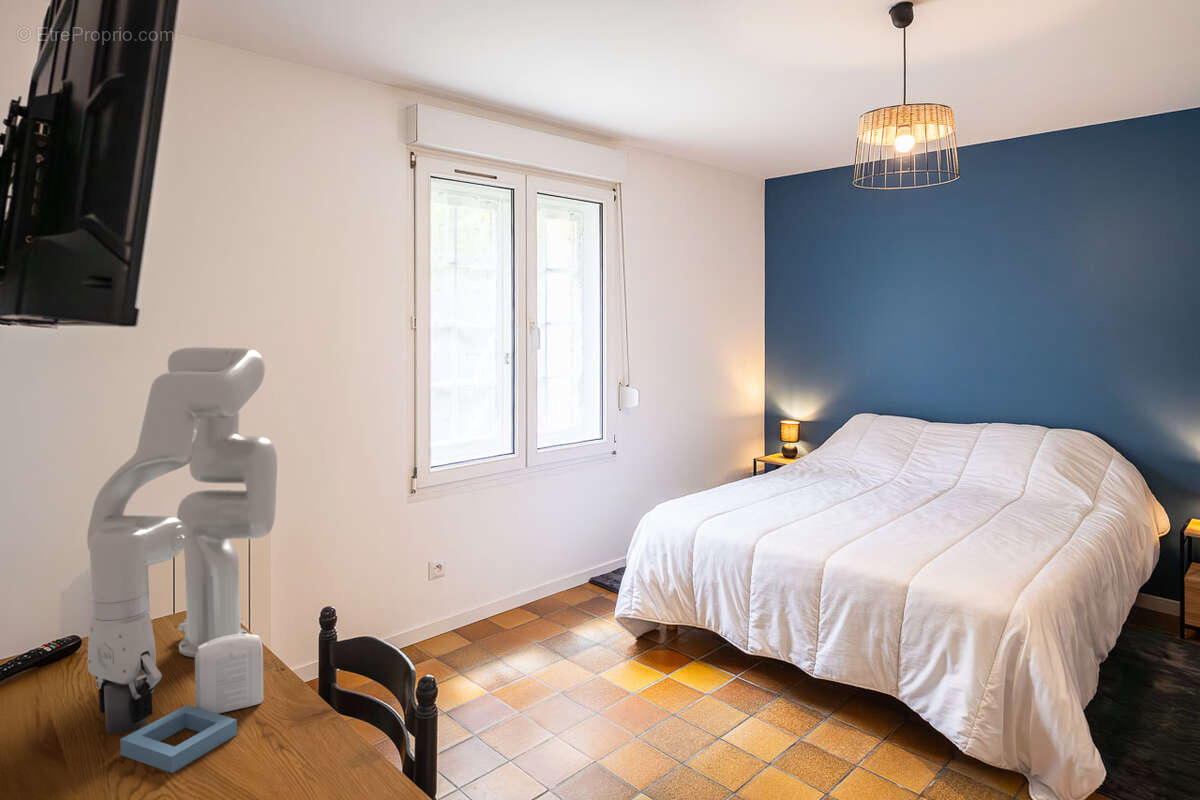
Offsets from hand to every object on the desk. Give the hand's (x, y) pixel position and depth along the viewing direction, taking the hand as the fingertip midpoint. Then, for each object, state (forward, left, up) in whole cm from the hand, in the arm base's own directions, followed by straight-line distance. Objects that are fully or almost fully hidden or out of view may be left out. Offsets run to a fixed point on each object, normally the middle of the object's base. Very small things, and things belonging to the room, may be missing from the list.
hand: (126, 713), depth 116 cm
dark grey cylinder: (0, 0, -2) cm, 2 cm away
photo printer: (+10, +11, -2) cm, 15 cm away
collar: (+13, 0, -2) cm, 13 cm away
